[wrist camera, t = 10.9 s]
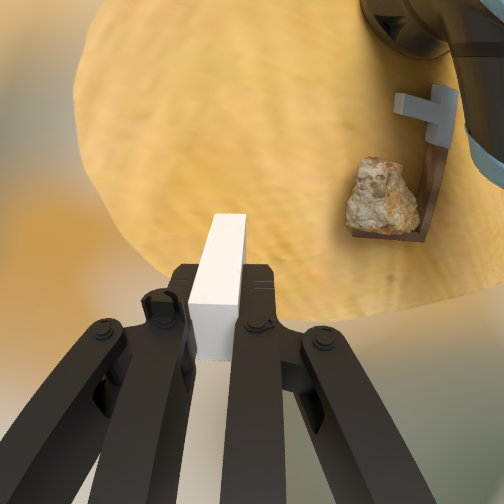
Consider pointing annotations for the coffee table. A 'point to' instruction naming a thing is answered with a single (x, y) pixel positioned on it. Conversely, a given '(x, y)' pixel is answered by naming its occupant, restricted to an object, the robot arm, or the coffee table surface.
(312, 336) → the robot arm
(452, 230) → the coffee table surface
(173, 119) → the coffee table surface
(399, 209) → the rock
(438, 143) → the t block
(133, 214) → the coffee table surface
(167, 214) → the coffee table surface
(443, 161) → the brown l-shaped block
